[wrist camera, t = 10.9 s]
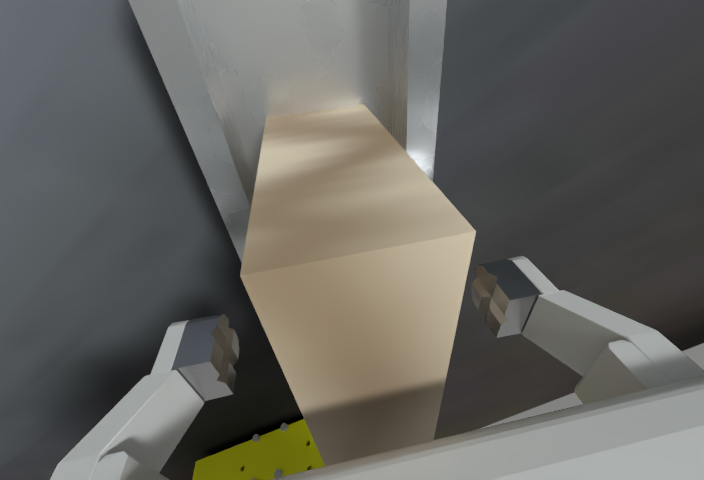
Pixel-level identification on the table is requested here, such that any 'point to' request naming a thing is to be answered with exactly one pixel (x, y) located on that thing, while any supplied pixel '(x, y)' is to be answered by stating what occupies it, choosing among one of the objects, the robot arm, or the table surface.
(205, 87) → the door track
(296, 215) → the tan rectangular block
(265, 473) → the yellow toy chassis
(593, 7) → the table surface
